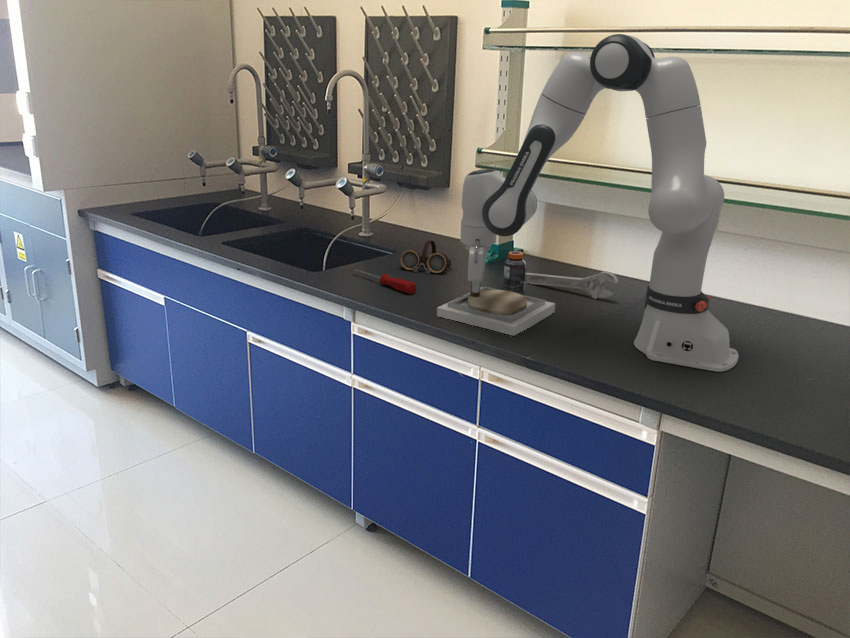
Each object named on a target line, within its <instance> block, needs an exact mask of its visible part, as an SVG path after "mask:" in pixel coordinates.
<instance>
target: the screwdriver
mask: <svg viewBox="0 0 850 638" xmlns="http://www.w3.org/2000/svg"><path fill="white" fill-rule="evenodd" d="M353 271H355V272H358V273H361V274H364V275H366V276H370V277H373V278H376V279H379V283H380V284H381V285H383V286H385V285H386V286H387V285H388V286H390V287H392V288H393V289H394V290H396V291H400V292H403V293H405V294H408V295H413V294H415V292H416V290H417V284H416V283H415V282H414V281H410V280H406V279H404V278H400V277H396V278H395V277H392V276H389V275H388V274H387V273H384V274H382V275H381V276H378V275H375V274H372V273H369V272H366V271H363V270H360V269H355V268H354V269H353Z"/></svg>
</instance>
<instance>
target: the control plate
mask: <svg viewBox="0 0 850 638" xmlns="http://www.w3.org/2000/svg"><path fill="white" fill-rule="evenodd" d="M481 290H500V289H497V288H493V287H489V286H480V291H481ZM469 295H470V292H468V293H466V294H463V295H460V296H459V297H457V298H455V299H453V300H450V301H449V302H447V303H443V304H442V305H439V306H437V308H436V317H437V316H438V317H437V318H439V317H443V318H446V319H445V320H447V319H451V320H455V321H459V322H463V323H466V324H470V325H475V326H479V327H483V328H487V329H490V330H494V331H498V332H501V333H505V334H509V335H513V336H514V335H516V334H518V333H520V332H521V333H523V332H525V331H526V330H528V329H529V328H531V327H532V326H535V325H536V324H538V323H539V322H541V321H543V320H544V319H546V318H548V317H549V316H551V315H552V313H553V314H554V313H555V310H556V302H550V301H546V299H542V298H539V297H534V296H528V295H524V294H522V295H523V296H524V297H525V298H526V299H527V307H526V308H524V309H523V310H521V311H519V312H517V313H513V314H496V313H492V312H488V311H484V310H480V309H476V308H472V307H470V306H469V305H468V296H469ZM443 318H442V319H443ZM451 320H450V321H451ZM455 321H454V322H455ZM466 324H465V325H466ZM470 325H469V326H470ZM527 328H528V329H527ZM524 330H525V331H524ZM522 331H523V332H522ZM521 333H520V334H521ZM518 335H519V334H518ZM516 336H517V335H516Z"/></svg>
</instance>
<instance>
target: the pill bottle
mask: <svg viewBox="0 0 850 638" xmlns="http://www.w3.org/2000/svg"><path fill="white" fill-rule="evenodd" d="M523 258H524V253H523V252H522V251H518V250H517V251H515V250H513V251H509V252H508V258H507V259H505V260H504V267H503V283H502V284H503V286H502V290H505V291H511V292H515V293H518V294H523V293H524V292H525V284H526V283H525V281H526V275H525V273H526V266H527V263H526V261H525V260H524V259H523Z"/></svg>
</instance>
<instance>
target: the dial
mask: <svg viewBox="0 0 850 638" xmlns="http://www.w3.org/2000/svg"><path fill="white" fill-rule="evenodd" d="M480 288H481V285H480V286H479V292H478V293H474V292H472V281H470V292H469V293H470V295H469V296H468V305H469V306H470V307H472V308H476V309H480V310H484V311H488V312H492V313H496V314H513V313H517V312H519V311H521V310H523V309H524V308H526V307H527V299H526V298H525V297H524V296H523V295H524V294H522V293H520V294H518V293H515V292H511V291H505V290H503V289H499V290H481V291H480Z"/></svg>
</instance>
